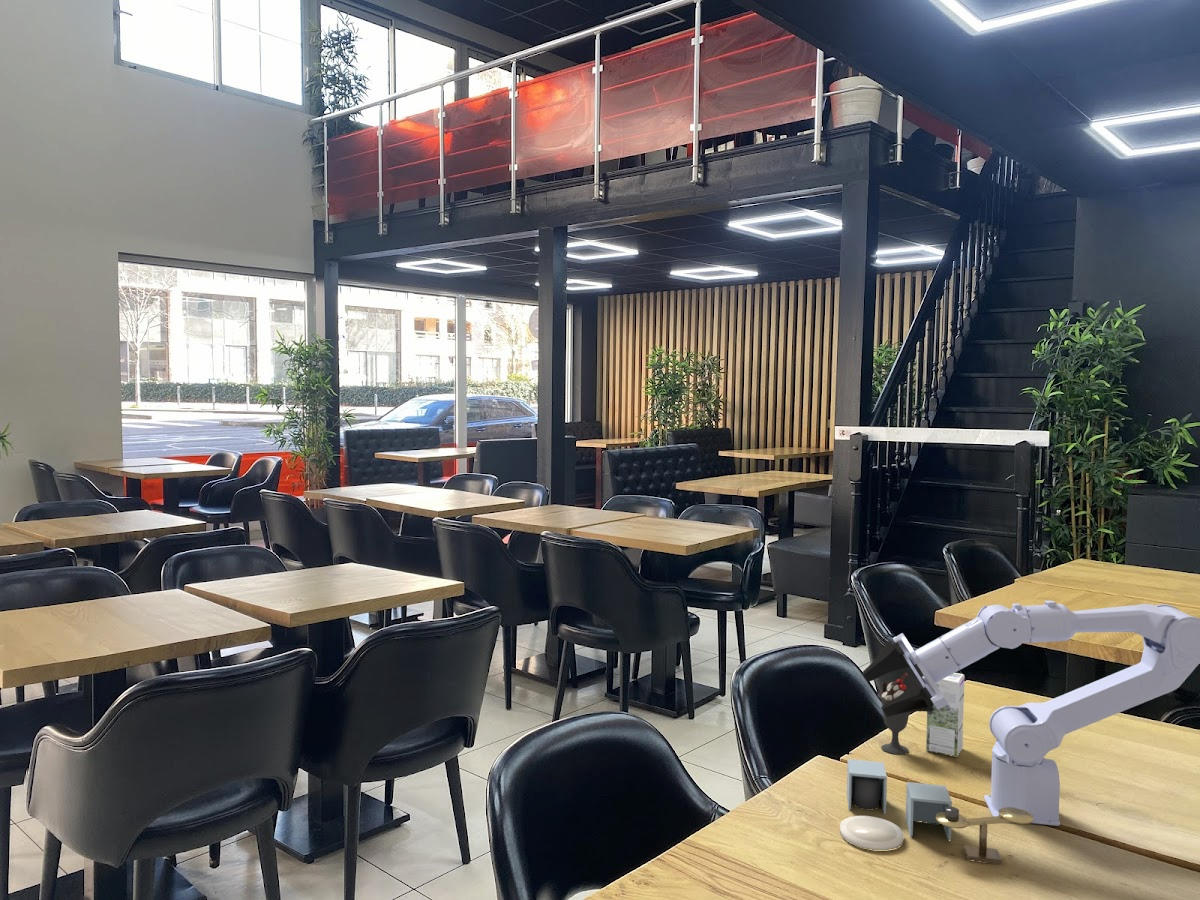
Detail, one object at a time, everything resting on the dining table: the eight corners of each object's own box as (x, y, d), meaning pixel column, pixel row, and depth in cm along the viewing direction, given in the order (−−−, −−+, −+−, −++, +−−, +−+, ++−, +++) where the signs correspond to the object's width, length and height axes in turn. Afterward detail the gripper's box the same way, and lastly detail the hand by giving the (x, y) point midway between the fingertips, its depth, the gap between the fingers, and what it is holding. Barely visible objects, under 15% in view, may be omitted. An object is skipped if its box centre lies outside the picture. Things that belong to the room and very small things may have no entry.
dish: (899, 825, 131) (899, 819, 131) (906, 855, 122) (906, 847, 122) (838, 819, 133) (838, 812, 133) (841, 847, 124) (841, 840, 124)
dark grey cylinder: (877, 800, 140) (878, 773, 139) (880, 811, 136) (880, 783, 136) (852, 797, 141) (853, 770, 140) (853, 808, 137) (854, 780, 137)
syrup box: (963, 748, 162) (965, 672, 161) (957, 759, 157) (959, 681, 156) (931, 742, 165) (933, 667, 164) (925, 752, 160) (926, 675, 159)
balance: (1027, 855, 122) (1028, 809, 122) (1035, 871, 118) (1037, 823, 118) (932, 844, 125) (933, 799, 125) (937, 859, 121) (938, 812, 121)
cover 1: (882, 798, 140) (883, 762, 140) (886, 813, 135) (886, 776, 135) (846, 794, 142) (847, 758, 141) (848, 809, 136) (849, 772, 136)
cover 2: (944, 824, 132) (945, 785, 131) (950, 841, 126) (951, 802, 126) (905, 819, 133) (906, 781, 133) (910, 837, 127) (911, 797, 127)
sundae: (916, 758, 157) (918, 677, 156) (878, 754, 158) (880, 675, 158) (911, 744, 163) (912, 667, 163) (874, 741, 165) (876, 664, 164)
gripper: (919, 609, 141) (847, 649, 143) (963, 672, 129) (883, 715, 131) (934, 633, 144) (863, 672, 147) (978, 697, 132) (900, 739, 134)
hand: (874, 694), depth 139 cm, fingers open, 7 cm apart
